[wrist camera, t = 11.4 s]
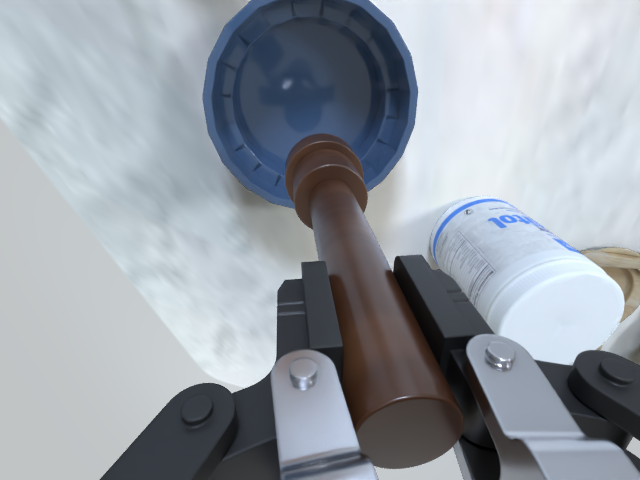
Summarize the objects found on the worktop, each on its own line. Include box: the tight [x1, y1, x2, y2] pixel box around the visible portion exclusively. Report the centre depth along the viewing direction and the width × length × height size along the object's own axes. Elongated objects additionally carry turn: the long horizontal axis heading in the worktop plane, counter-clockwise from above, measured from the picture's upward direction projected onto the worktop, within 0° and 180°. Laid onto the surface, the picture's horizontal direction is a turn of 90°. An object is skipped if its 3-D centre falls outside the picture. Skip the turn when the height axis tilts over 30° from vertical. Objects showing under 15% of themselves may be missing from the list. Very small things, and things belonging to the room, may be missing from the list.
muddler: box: [285, 133, 464, 469], centre depth 14 cm, size 4×4×17 cm
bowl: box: [203, 0, 418, 209], centre depth 28 cm, size 15×15×6 cm
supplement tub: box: [430, 196, 625, 365], centre depth 32 cm, size 10×10×15 cm
